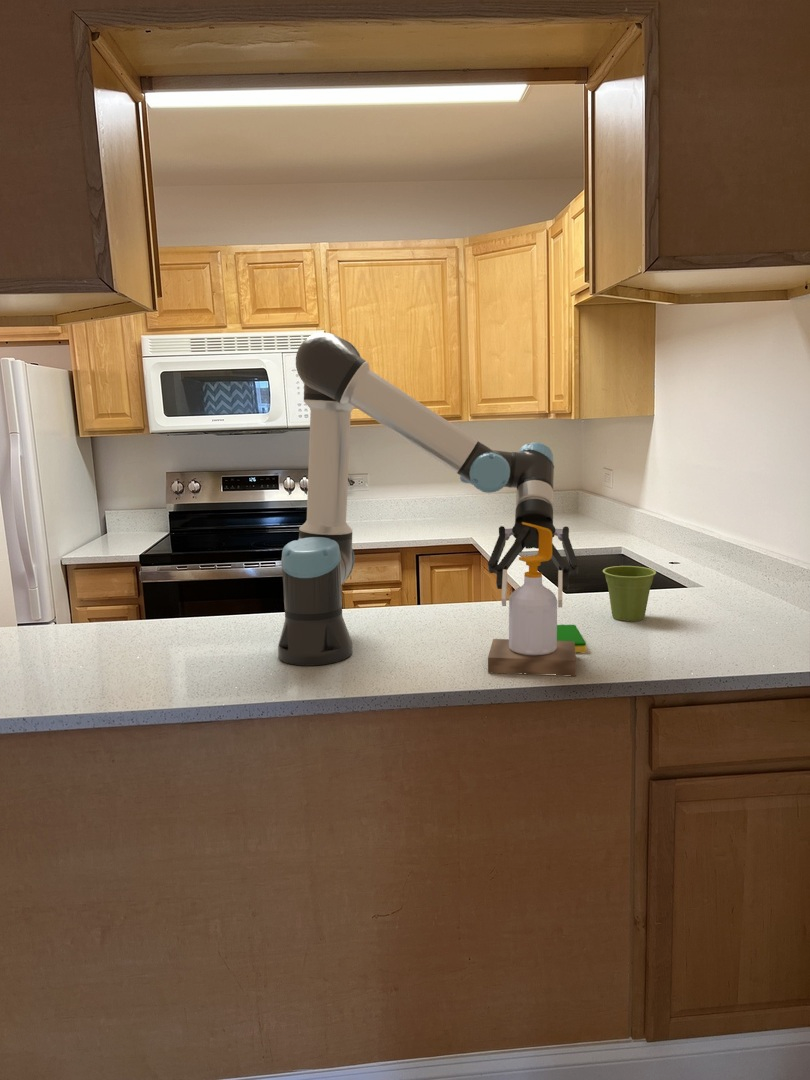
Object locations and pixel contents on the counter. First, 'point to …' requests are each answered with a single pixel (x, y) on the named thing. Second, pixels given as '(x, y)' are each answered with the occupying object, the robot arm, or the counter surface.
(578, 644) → the dish sponge
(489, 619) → the counter surface
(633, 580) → the plant pot
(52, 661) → the counter surface
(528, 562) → the soap bottle
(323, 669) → the counter surface
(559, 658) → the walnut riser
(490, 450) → the robot arm
